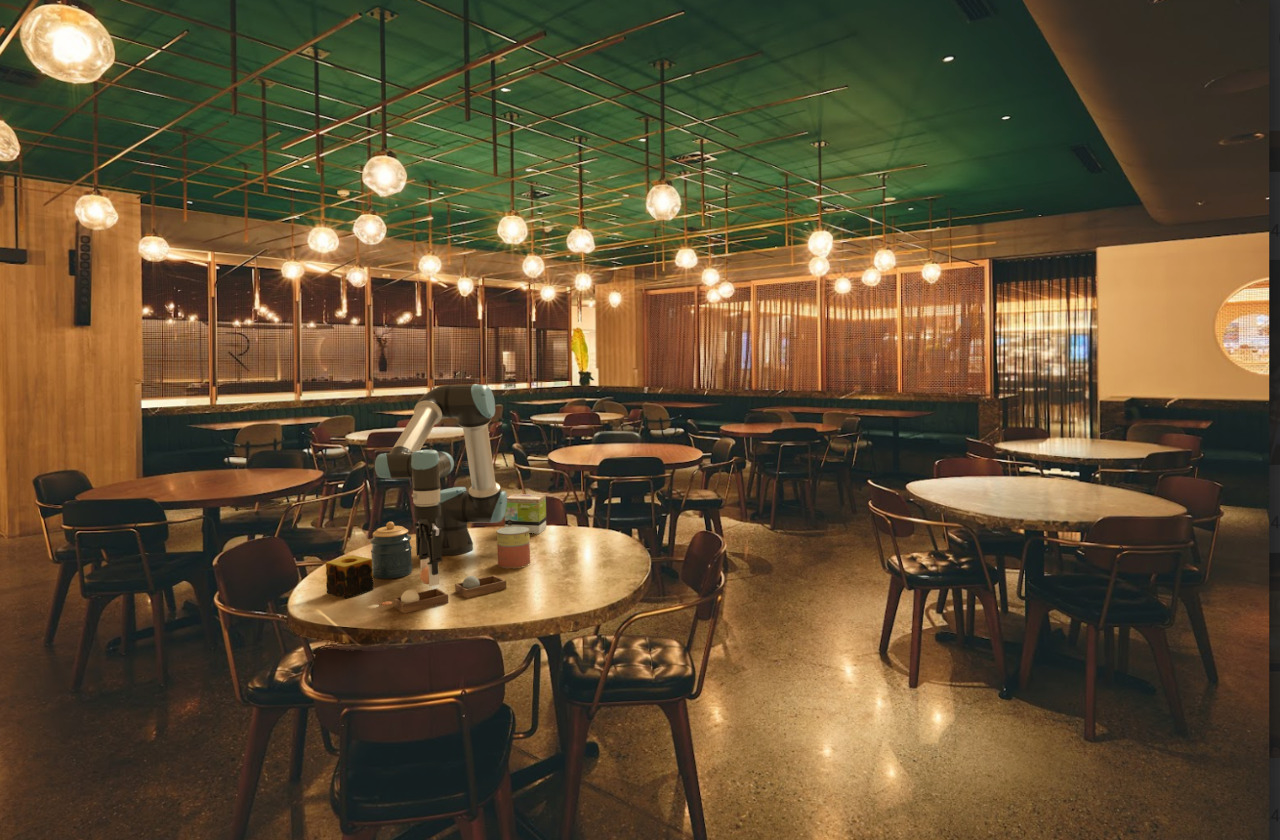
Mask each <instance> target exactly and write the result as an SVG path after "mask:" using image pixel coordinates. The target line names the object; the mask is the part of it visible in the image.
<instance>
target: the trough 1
mask: <svg viewBox="0 0 1280 840" xmlns="http://www.w3.org/2000/svg"><path fill="white" fill-rule="evenodd" d="M417 593H418V594H419V601H416V602H412V603H407V604H404V603H403V602H401V596H398V597H393V600H392V603H393V608H395V609H397V610H398V611H399V612H401V613H402V614H408V613H412V612H416V611H421V610H425V609H428V608H433V607H437V606H440V605H441V606H442V605H445V604H449V594H448V593H447V592H444V591H442V590H441V589H439V588H433V589H428V590H423V591H420V592H417Z"/></svg>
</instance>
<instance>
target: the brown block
mask: <svg viewBox="0 0 1280 840" xmlns="http://www.w3.org/2000/svg"><path fill="white" fill-rule="evenodd" d="M325 567H326V568H325V571H326V572H325V575H326V583H325V584H326V585H325V586H326V594H328V595H331V596H334V597H341V598H343V599H345V600H346V599H351V598H353V597H357V596H359V595H363V594H365V593H367V592H371V591H374V583H375V582H374V576H373V570H372V558H369V557H364V556H358V555H354V554H353V555H348V556H345V557H340V558H338V559H334V560H330V561H326V562H325Z"/></svg>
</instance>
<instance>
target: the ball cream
mask: <svg viewBox="0 0 1280 840" xmlns="http://www.w3.org/2000/svg"><path fill="white" fill-rule="evenodd" d="M418 593H419V592H417V590H414V589H407V590H405V591H404V592H402V594H401V596H400V597H401V602H403V603H404V604H407V603H412V602H416V601H419V594H418Z"/></svg>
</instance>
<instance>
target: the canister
mask: <svg viewBox="0 0 1280 840" xmlns="http://www.w3.org/2000/svg"><path fill="white" fill-rule="evenodd" d="M385 525H386V526H382V527H379V528H377V529H376V530H375V531H374V532H373V533H372V536H373V538H371V539H370V541H369V542H370V544H371V549H370V554H371V559H372V570H373V578H376V579H381V580H382V579H383V580H389V579H398V578H402V577H405V576H406V577H407V576H409V575H410V574H411V573H412V572H413V560H412V559H413V558H412V548H413V547H412V545H411V539H412V536H411V535H410V534H408V533H409V529H407V528H405V527H404V526H401V525H395V523H394V522H393V521H388V522H387V523H386V524H385Z"/></svg>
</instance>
